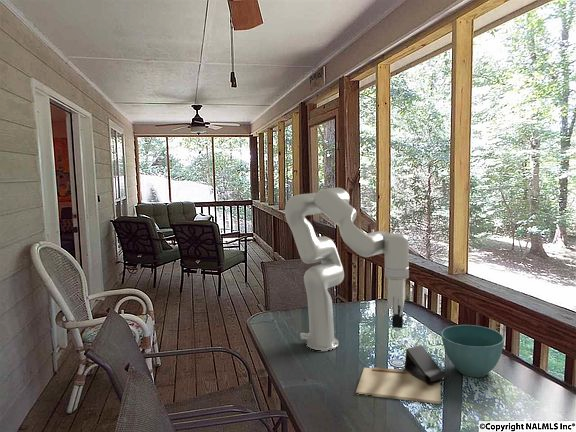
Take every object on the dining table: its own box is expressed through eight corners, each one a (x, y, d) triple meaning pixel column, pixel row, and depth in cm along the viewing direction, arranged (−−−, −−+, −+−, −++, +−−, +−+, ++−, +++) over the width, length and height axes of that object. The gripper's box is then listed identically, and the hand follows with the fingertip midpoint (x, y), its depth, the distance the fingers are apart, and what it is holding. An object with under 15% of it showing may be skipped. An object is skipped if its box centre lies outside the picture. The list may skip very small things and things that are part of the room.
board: (356, 394, 123) (355, 390, 123) (364, 369, 138) (364, 366, 138) (441, 404, 115) (440, 400, 114) (439, 377, 130) (439, 373, 129)
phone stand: (418, 368, 136) (444, 390, 126) (403, 372, 134) (429, 395, 123) (421, 344, 134) (448, 365, 123) (406, 348, 132) (432, 370, 121)
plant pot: (478, 391, 120) (477, 351, 119) (430, 368, 136) (429, 332, 135) (517, 374, 128) (516, 337, 127) (467, 354, 144) (466, 320, 143)
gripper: (387, 266, 140) (388, 317, 142) (382, 277, 126) (383, 334, 128) (410, 267, 137) (410, 319, 139) (407, 278, 123) (408, 336, 125)
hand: (397, 326), depth 134 cm, fingers closed
